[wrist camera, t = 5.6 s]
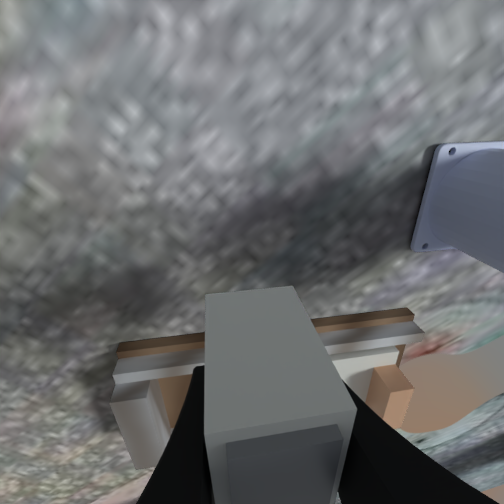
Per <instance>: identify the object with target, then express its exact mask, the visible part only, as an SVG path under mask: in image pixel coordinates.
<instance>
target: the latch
mask: <svg viewBox="0 0 504 504" xmlns="http://www.w3.org/2000/svg"><path fill="white" fill-rule="evenodd" d="M398 354H399V350H398V349H397V348H396V347H395V346H387V347H380V348H373V349H366V350H359V351H352V352H345V353H337V354H330V355H329V356H330V358H331V360H332V362H333V364H334V365H335V367H336V369H337V371H338V373H339V375H340V377H341V379H342V380H343V381H344V382H345V383H346V384H347V385H348V386H349V387H350V388H351V389H352V390H353V391H354V392H355V393H356V394H357V395H358V396H359V397H360V398H361V399H362V400H363V401H364V402H365V403H366V404H367V405H368V406H369V407H370V408H371V409H372V410H373V411H374V412H375V413H376V414H377V415H378V416H379V417H381V418H382V419H383V420H384V421H385V422H386V423H387V424H388V425H390V426H391V427H392V428H393V429H395V428H401V425H402V422H403V420H404V417H405V414H406V411H407V408H408V406H409V403H410V400H411V397H412V394H413V391H414V387H413V386H412V385H411V383H410V382H409V381H408V380H407V378H406V377H405V376H404V374H403V373H402V372H401V371H400V369H399V368H398V367H397V365H396V361H397V357H398Z"/></svg>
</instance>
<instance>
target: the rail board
mask: <svg viewBox="0 0 504 504" xmlns="http://www.w3.org/2000/svg"><path fill="white" fill-rule="evenodd" d="M413 319H414V314H413V313H412V312H411V311H410V310H409V309H408V308H401V309H393V310H384V311H376V312H368V313H360V314H352V315H344V316H335V317H327V318H319V319H311V322H312V323H313V325H314V327H315V329H316V331H317V333H318V335H319V337H320V339H321V341H322V343H323V344H324V346H325V348H326V350H327V352H328V354H329V355H330V354H337V353H345V352H352V351H359V350H366V349H373V348H380V347H387V346H395V347H396V348H397V349H398V350H399V354H398V357H397V361H396V365H397V367H398V368H399V365H400V362H401V358H402V355H403V352H404V348H405V345H406V344H409V343H416V342H422V340H423V337H424V334H425V332H424V331H423V330H422V329H420V328H419V327H418V326H417V325H416V324H415V323H414V322H413ZM116 353H117V356H118V361H117V364H116V367H115V369H114V372H113V375H112V376H113V378H114V381H115V384H116V385H115V388H114V391H113V394H112V397H111V400H110V402H109V404H110V406H111V409H112V411H113V414H114V416H115V419H116V421H117V424H118V426H119V429H120V431H121V434H122V436H123V439H124V441H125V444H126V446H127V449H128V451H129V454H130V456H131V459H132V461H133V464H134V466H135V469H136V470H139V469H144V468H150V467H155V466H157V464H158V462H159V460H160V458H161V456H162V454H163V452H164V449H165V447H166V445H167V443H168V441H169V438H170V436H171V434H172V431H173V429H174V427H175V424H176V422H177V419H178V417H179V414H180V411H181V409H182V406H183V403H184V401H185V398H186V395H187V392H188V388H189V385H190V382H191V378H192V373H193V369H194V368H195V367H196V366H202V365H205V333H196V334H188V335H180V336H172V337H164V338H156V339H147V340H139V341H131V342H123V343H120V344H119V347H118V349H117V352H116Z"/></svg>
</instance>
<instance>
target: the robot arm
mask: <svg viewBox="0 0 504 504" xmlns="http://www.w3.org/2000/svg"><path fill="white" fill-rule="evenodd" d="M450 149H451V152H450V153H449V150H450ZM423 245H424V246H423ZM422 246H423V247H422ZM410 248H411V250H413V251H414V252H426V251H436V250H447V249H458V250H460V251H462V252H464V253H466V254H468V255H470V256H472V257H474V258H476V259H477V260H479V261H481V262H483V263H485V264H487V265H489V266H491V267H493V268H495V269H497V270H499V271H501V272H503V273H504V141H486V142H463V143H443V144H440V145H439V146H438V147H437V148H436V150H435V153H434V157H433V161H432V164H431V168H430V172H429V176H428V180H427V184H426V188H425V192H424V195H423V199H422V203H421V207H420V211H419V215H418V219H417V223H416V227H415V230H414V234H413V238H412V242H411V247H410ZM342 381H343V380H342ZM204 383H205V365H202V366H196V367H195V368H194V369H193V373H192V378H191V382H190V385H189V388H188V392H187V395H186V398H185V401H184V403H183V406H182V409H181V411H180V414H179V417H178V419H177V422H176V424H175V427H174V429H173V431H172V434H171V436H170V438H169V441H168V443H167V445H166V447H165V449H164V452H163V454H162V456H161V458H160V460H159V462H158V464H157V466H156V468H155V470H154V472H153V474H152V476H151V478H150V480H149V481H148V483H147V485H146V487H145V489H144V491H143V493H142V494H141V496H140V498H139V500H138V502H137V503H136V504H212V491H213V487H212V481H211V474H210V468H209V462H208V456H207V449H206V443H205V437H204ZM343 383H344V385H345V387H346V388H347V390H348V392H349V394H350V396H351V398H352V400H353V402H354V404H355V406H356V408H357V412H356V416H355V420H354V425H353V429H352V433H351V437H350V441H349V446H348V450H347V454H346V458H345V462H344V466H343V471H342V475H341V479H340V483H339V487H338V493H339V497H340V500H341V503H342V504H499V503H497V502H496V501H494V500H493V499H491V498H489V497H488V496H486V495H485V494H483V493H481V492H480V491H478V490H477V489H475V488H473V487H472V486H470V485H469V484H467V483H465V482H464V481H463V480H461V479H460V478H458V477H457V476H455V475H454V474H452V473H451V472H449V471H448V470H446V469H445V468H444V467H442V466H441V465H440V464H438V463H437V462H435V461H434V460H433V459H431V458H430V457H429V456H427V455H426V454H425V453H423V452H422V451H421V450H419V449H418V448H417V447H415V446H414V445H413V444H411V443H410V442H409V441H408V440H406V439H405V438H404V437H403V436H402V435H400V434H399V433H398V432H397V431H395V430H394V429H393V428H392V427H391V426H390V425H388V424H387V423H386V422H385V421H384V420H383V419H382V418H381V417H379V416H378V415H377V414H376V413H375V412H374V411H373V410H372V409H371V408H370V407H369V406H368V405H367V404H366V403H365V402H364V401H363V400H362V399H361V398H360V397H359V396H358V395H357V394H356V393H355V392H354V391H353V390H352V389H351V388H350V387H349V386H348V385H347V384H346V383H345V382H344V381H343Z"/></svg>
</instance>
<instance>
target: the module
mask: <svg viewBox="0 0 504 504" xmlns="http://www.w3.org/2000/svg"><path fill="white" fill-rule="evenodd" d="M356 412H357V408H356V406H355V404H354V402H353V400H352V398H351V396H350V394H349V392H348V390H347V388H346V387H345V385H344V383H343V381H342V379H341V377H340V375H339V373H338V371H337V369H336V367H335V365H334V364H333V362H332V360H331V358H330V356H329V354H328V352H327V350H326V348H325V346H324V344H323V343H322V341H321V339H320V337H319V335H318V333H317V331H316V329H315V327H314V325H313V323H312V322H311V320H310V318H309V316H308V314H307V312H306V310H305V308H304V306H303V304H302V302H301V300H300V299H299V297H298V295H297V293H296V291H295V289H294V287H293V286H284V287H274V288H264V289H254V290H244V291H234V292H224V293H214V294H205V383H204V437H205V443H206V449H207V456H208V462H209V468H210V474H211V481H212V487H213V493H214V499H215V504H335V500H336V496H337V492H338V487H339V483H340V479H341V475H342V471H343V466H344V462H345V458H346V454H347V450H348V446H349V441H350V437H351V433H352V429H353V425H354V420H355V416H356Z"/></svg>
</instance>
